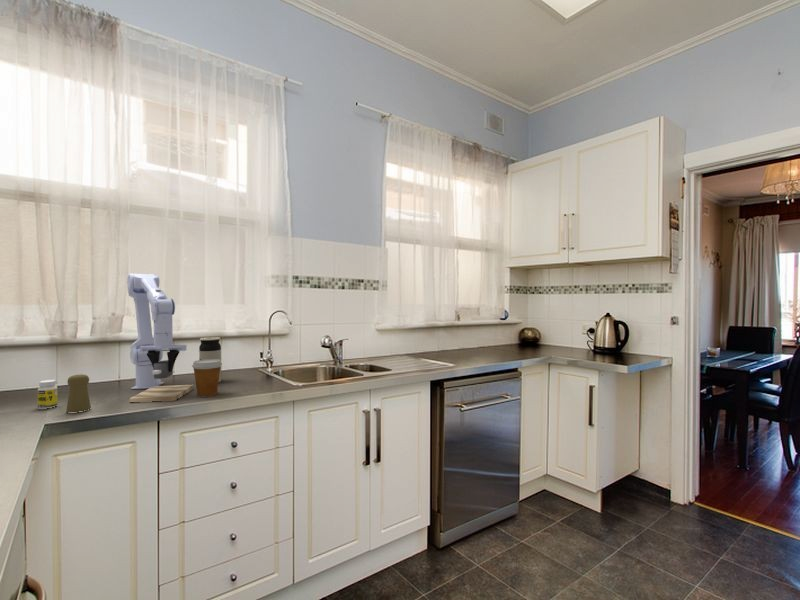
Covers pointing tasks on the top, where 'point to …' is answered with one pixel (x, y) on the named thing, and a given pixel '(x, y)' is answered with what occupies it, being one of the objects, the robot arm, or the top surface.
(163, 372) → the connector
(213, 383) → the disposable coffee cup
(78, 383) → the cork
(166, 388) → the wooden board
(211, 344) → the travel mug
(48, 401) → the supplement bottle
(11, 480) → the top surface
